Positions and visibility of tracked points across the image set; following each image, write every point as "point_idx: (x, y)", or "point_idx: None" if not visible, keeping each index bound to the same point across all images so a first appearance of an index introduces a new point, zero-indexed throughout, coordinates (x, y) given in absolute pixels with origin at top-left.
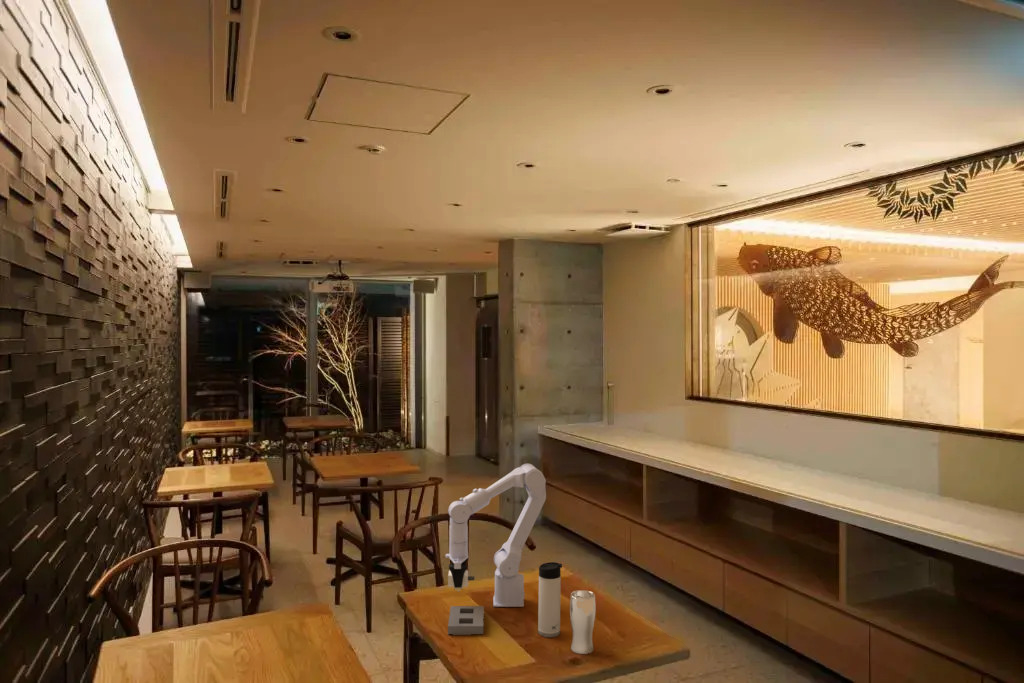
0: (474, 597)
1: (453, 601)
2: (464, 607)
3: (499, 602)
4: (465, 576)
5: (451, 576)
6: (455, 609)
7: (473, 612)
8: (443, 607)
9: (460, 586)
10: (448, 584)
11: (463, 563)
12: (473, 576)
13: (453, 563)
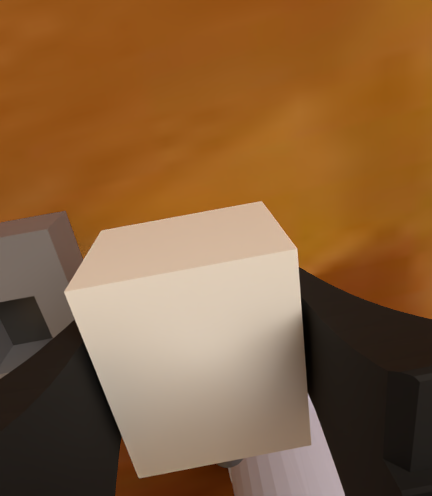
0: (329, 283)
1: (264, 182)
2: (57, 315)
3: None
4: (133, 452)
5: (85, 324)
6: (5, 271)
7: (6, 373)
8: (159, 139)
9: None
10: (96, 243)
11: (351, 486)
12: (226, 463)
13: (351, 370)
